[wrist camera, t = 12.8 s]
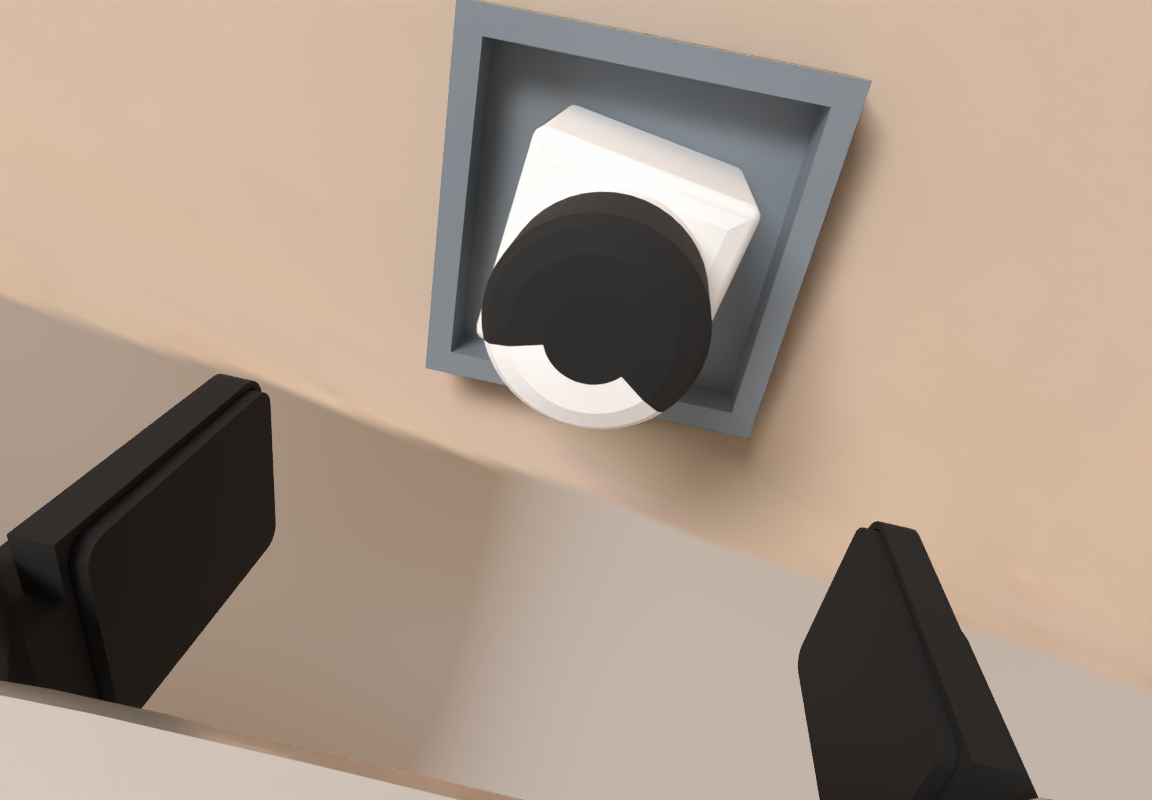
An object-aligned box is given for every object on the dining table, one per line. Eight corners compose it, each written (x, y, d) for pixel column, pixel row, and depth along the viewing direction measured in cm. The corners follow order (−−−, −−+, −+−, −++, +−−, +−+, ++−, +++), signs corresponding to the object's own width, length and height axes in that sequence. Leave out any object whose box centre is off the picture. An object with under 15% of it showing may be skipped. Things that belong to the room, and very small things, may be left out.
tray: (855, 76, 26) (871, 81, 23) (743, 410, 32) (748, 438, 30) (475, -1, 26) (456, -4, 24) (442, 345, 33) (425, 368, 30)
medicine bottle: (568, 100, 27) (495, 149, 16) (746, 169, 27) (788, 261, 16) (514, 273, 30) (425, 406, 19) (673, 332, 30) (669, 495, 20)
